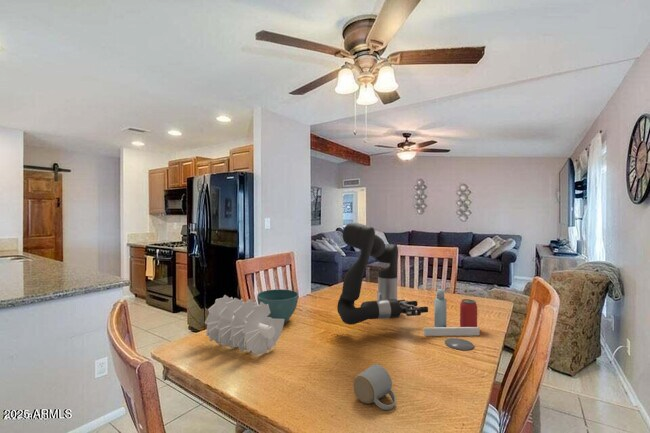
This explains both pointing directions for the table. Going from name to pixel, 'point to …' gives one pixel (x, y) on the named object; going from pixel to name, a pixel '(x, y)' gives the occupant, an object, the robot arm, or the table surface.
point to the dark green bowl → (279, 302)
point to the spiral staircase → (243, 325)
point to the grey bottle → (440, 309)
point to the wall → (450, 331)
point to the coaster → (459, 344)
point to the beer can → (468, 313)
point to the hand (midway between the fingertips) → (422, 306)
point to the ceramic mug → (374, 386)
